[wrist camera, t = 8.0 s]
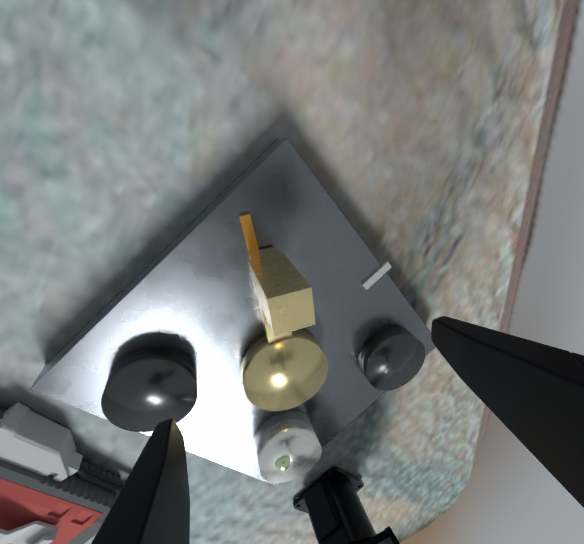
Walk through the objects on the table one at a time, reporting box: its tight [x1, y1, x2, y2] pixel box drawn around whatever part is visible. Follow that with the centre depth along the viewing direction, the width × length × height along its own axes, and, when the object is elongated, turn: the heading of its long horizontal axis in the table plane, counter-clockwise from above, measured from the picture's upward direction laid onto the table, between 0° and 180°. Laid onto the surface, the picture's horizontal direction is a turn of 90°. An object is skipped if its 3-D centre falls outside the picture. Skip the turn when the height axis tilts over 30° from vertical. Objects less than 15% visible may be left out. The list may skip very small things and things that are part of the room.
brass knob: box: [241, 246, 328, 411], centre depth 18 cm, size 12×6×6 cm, turn 7°
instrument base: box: [30, 139, 436, 486], centre depth 21 cm, size 22×20×5 cm
